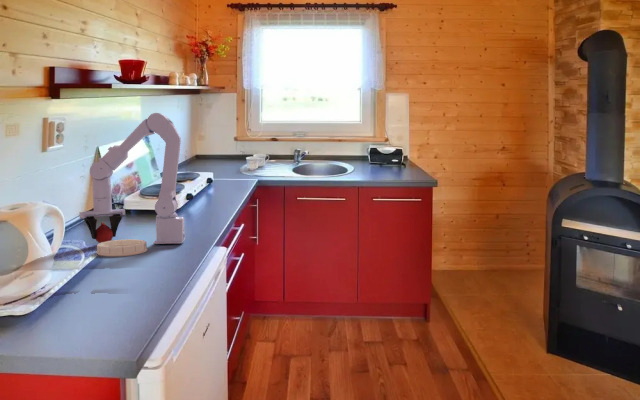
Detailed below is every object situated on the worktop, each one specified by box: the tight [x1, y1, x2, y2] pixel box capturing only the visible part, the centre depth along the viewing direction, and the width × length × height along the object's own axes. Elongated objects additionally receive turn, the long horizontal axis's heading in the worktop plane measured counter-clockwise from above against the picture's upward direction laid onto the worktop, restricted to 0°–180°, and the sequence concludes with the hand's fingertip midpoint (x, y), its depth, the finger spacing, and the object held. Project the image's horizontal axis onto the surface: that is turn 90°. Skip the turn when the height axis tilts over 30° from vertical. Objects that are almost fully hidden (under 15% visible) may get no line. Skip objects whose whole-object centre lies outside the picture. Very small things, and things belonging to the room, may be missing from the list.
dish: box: [96, 239, 148, 258], centre depth 155 cm, size 15×15×3 cm
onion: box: [95, 222, 114, 244], centre depth 165 cm, size 6×6×8 cm
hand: (103, 237), depth 165 cm, fingers closed on onion, 6 cm apart
